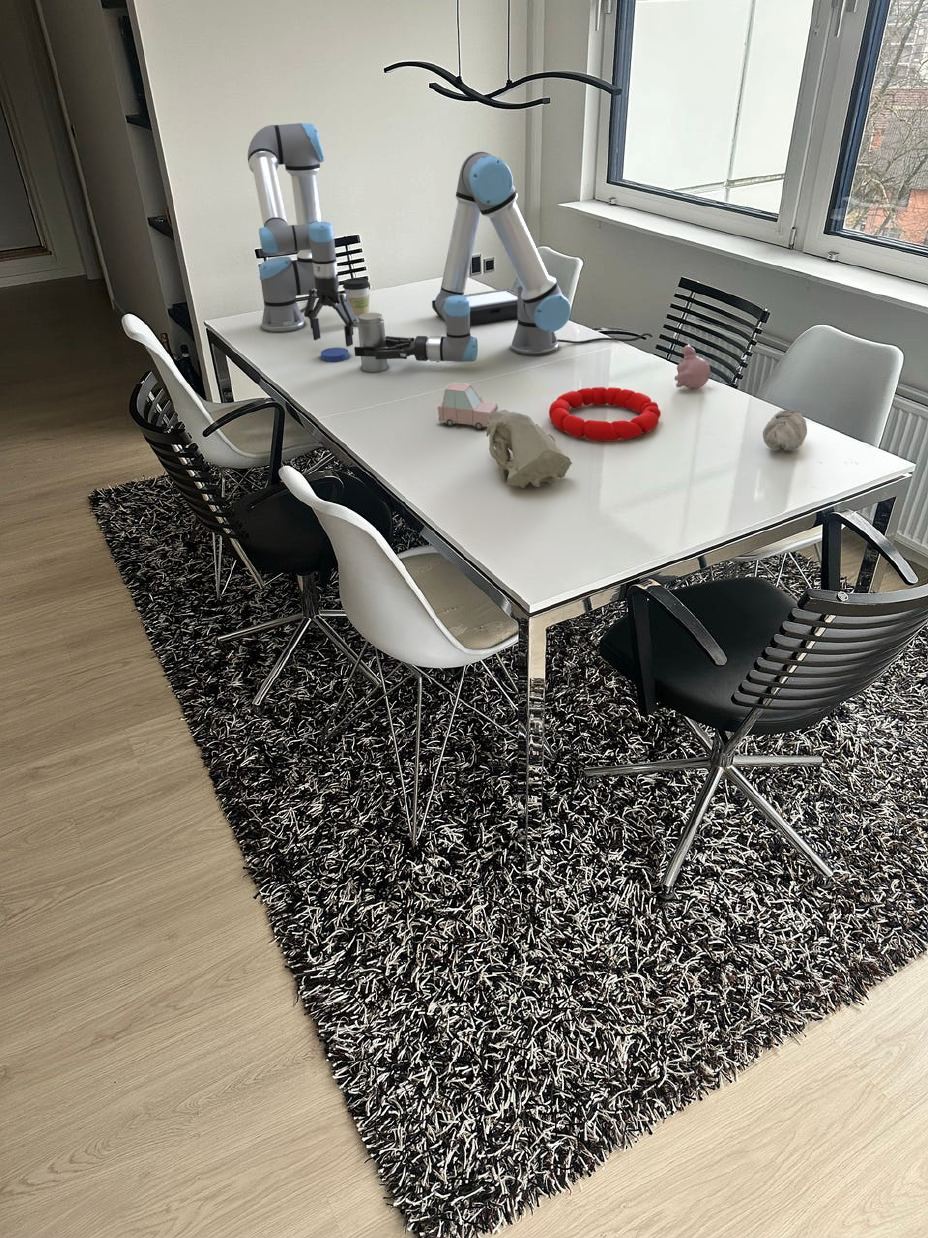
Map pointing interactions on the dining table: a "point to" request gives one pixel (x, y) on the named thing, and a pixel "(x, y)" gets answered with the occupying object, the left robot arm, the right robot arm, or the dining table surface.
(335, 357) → the lid
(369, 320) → the jar
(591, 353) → the dining table surface
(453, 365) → the dining table surface
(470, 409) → the toy car
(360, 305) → the coffee cup
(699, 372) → the figurine
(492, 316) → the electronic device
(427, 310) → the dining table surface
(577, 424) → the decorative ring
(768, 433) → the grey rounded lump
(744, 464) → the dining table surface
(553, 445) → the grey rock
